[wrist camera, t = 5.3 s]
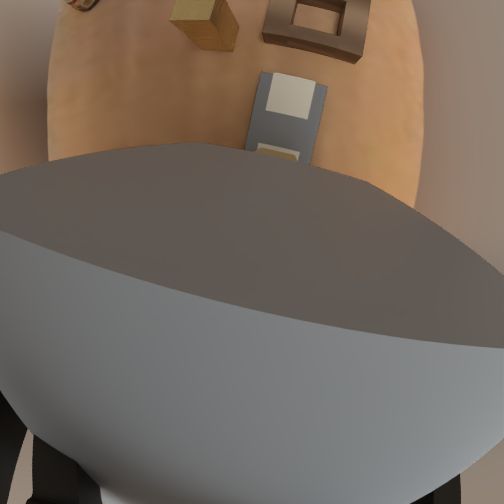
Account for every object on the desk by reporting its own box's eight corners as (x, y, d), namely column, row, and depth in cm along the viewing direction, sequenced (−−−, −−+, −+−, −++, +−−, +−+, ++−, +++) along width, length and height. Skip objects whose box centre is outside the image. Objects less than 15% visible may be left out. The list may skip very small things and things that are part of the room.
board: (262, 72, 25) (249, 40, 15) (326, 86, 25) (347, 61, 15) (240, 177, 30) (216, 201, 20) (301, 192, 30) (309, 222, 20)
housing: (198, 142, 13) (-67, 199, 2) (367, 181, 13) (575, 350, 1) (175, 345, 19) (102, 501, 7) (295, 373, 19) (287, 545, 7)
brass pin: (209, 24, 23) (179, -11, 14) (239, 26, 23) (219, -12, 14) (202, 49, 25) (169, 20, 16) (232, 52, 24) (209, 20, 15)
